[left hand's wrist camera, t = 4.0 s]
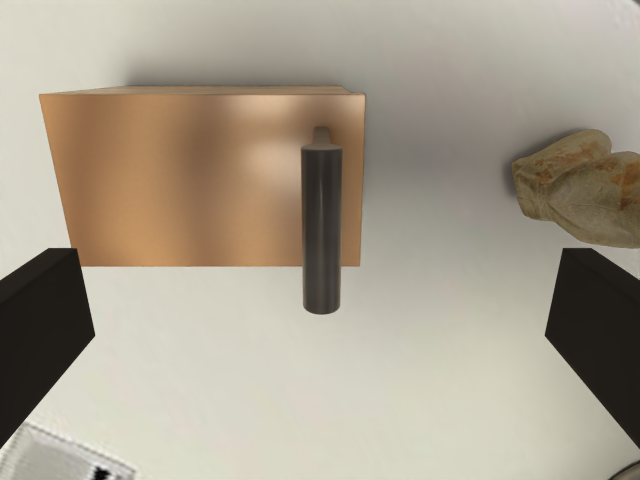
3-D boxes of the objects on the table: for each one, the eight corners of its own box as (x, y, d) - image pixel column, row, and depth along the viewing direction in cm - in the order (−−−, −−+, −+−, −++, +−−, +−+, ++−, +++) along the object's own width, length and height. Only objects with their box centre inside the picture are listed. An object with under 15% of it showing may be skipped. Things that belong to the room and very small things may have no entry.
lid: (364, 93, 23) (388, 107, 15) (358, 258, 26) (375, 345, 18) (51, 92, 23) (-99, 107, 15) (85, 258, 26) (-22, 346, 18)
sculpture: (602, 189, 34) (799, 274, 20) (508, 218, 35) (634, 319, 21) (593, 114, 32) (805, 151, 18) (494, 147, 33) (622, 206, 19)
